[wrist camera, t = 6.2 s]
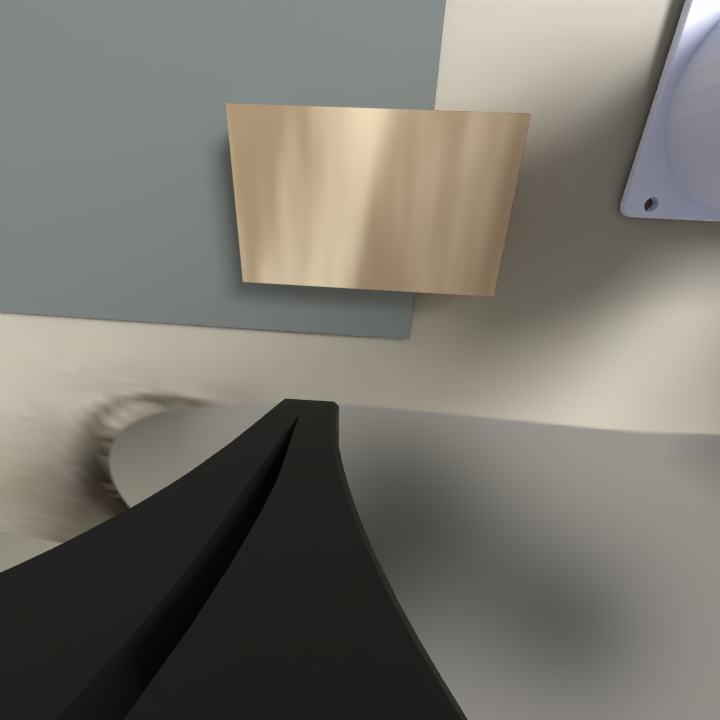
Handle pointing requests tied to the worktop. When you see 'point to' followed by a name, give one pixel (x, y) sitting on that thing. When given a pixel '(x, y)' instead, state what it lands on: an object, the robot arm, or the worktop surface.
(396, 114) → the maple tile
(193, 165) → the rubber mat
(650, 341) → the worktop surface
